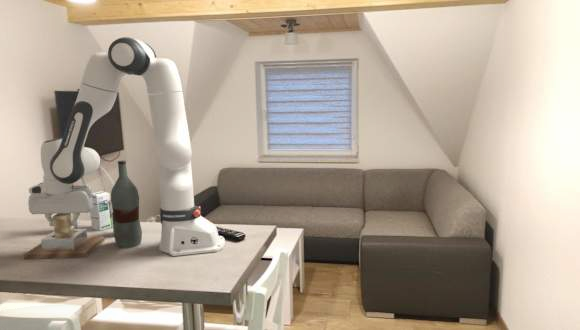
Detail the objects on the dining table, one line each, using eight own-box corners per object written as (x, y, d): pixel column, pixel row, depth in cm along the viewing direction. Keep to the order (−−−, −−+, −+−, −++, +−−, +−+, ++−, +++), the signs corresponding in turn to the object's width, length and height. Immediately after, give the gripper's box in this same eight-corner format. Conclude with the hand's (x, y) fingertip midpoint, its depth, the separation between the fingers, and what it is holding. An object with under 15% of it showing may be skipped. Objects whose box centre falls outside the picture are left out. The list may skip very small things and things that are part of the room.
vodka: (110, 248, 147) (102, 163, 142) (121, 239, 156) (114, 159, 151) (137, 248, 147) (129, 163, 142) (146, 239, 156) (140, 158, 151)
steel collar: (87, 239, 153) (86, 228, 152) (74, 250, 143) (73, 238, 142) (57, 240, 152) (56, 229, 152) (42, 251, 142) (41, 239, 141)
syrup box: (100, 231, 167) (96, 195, 164) (91, 228, 170) (87, 193, 167) (113, 227, 171) (109, 192, 169) (104, 225, 174) (100, 190, 172)
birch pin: (75, 242, 150) (72, 212, 148) (69, 247, 145) (66, 216, 143) (62, 242, 150) (59, 212, 148) (56, 247, 145) (52, 216, 143)
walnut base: (104, 240, 156) (104, 236, 156) (85, 256, 140) (85, 252, 140) (48, 242, 155) (48, 238, 155) (23, 259, 139) (23, 254, 139)
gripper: (94, 183, 147) (98, 221, 150) (33, 185, 147) (38, 223, 149) (86, 187, 141) (90, 227, 144) (23, 189, 140) (28, 229, 143)
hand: (63, 225), depth 146 cm, fingers open, 6 cm apart
